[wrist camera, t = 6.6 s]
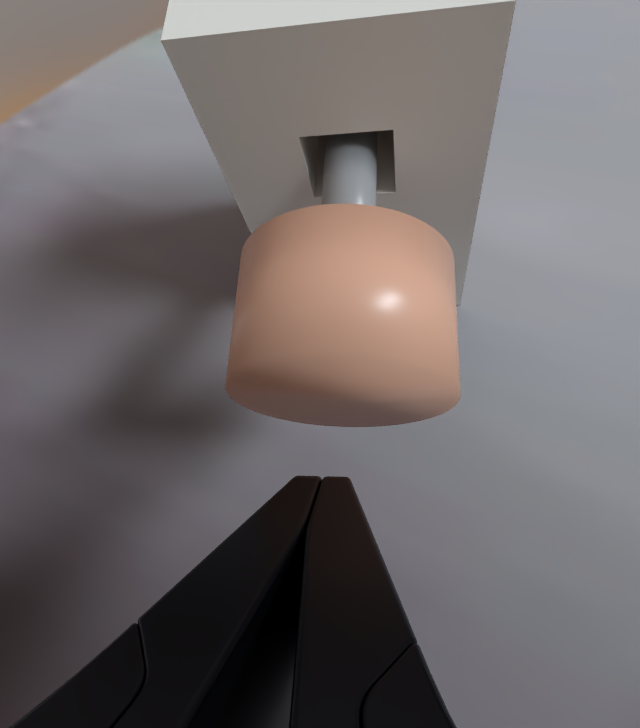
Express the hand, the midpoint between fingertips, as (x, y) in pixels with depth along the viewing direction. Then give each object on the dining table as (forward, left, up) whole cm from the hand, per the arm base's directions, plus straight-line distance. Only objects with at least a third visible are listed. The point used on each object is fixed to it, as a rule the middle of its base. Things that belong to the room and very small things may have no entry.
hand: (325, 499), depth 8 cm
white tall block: (+9, +3, -8) cm, 13 cm away
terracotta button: (+5, +2, -4) cm, 6 cm away
